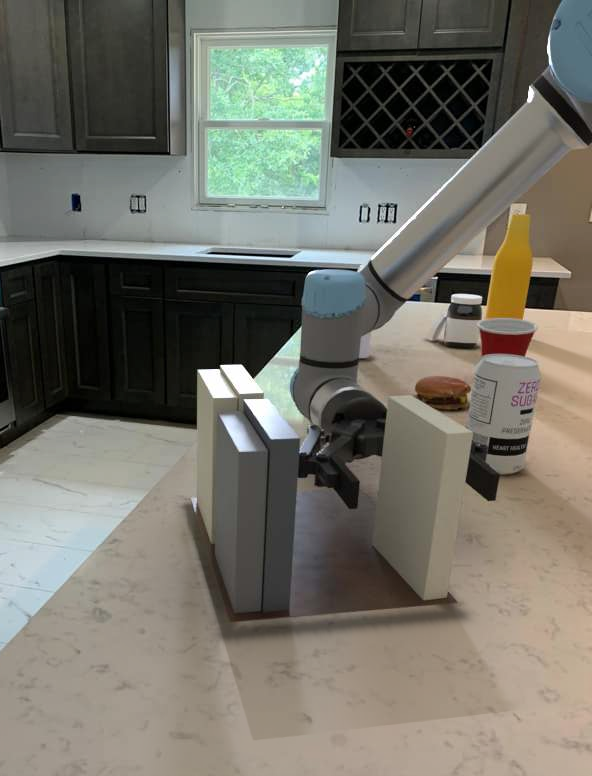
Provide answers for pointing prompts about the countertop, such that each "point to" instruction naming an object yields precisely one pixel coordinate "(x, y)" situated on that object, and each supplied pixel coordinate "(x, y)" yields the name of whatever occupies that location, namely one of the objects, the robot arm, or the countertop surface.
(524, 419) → the supplement can
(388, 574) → the shelf board
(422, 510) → the cream book
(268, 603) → the grey books
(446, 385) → the burger
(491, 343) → the plastic cup
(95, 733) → the countertop surface
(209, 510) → the cream books
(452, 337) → the spread jar
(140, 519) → the countertop surface
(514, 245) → the beer bottle
